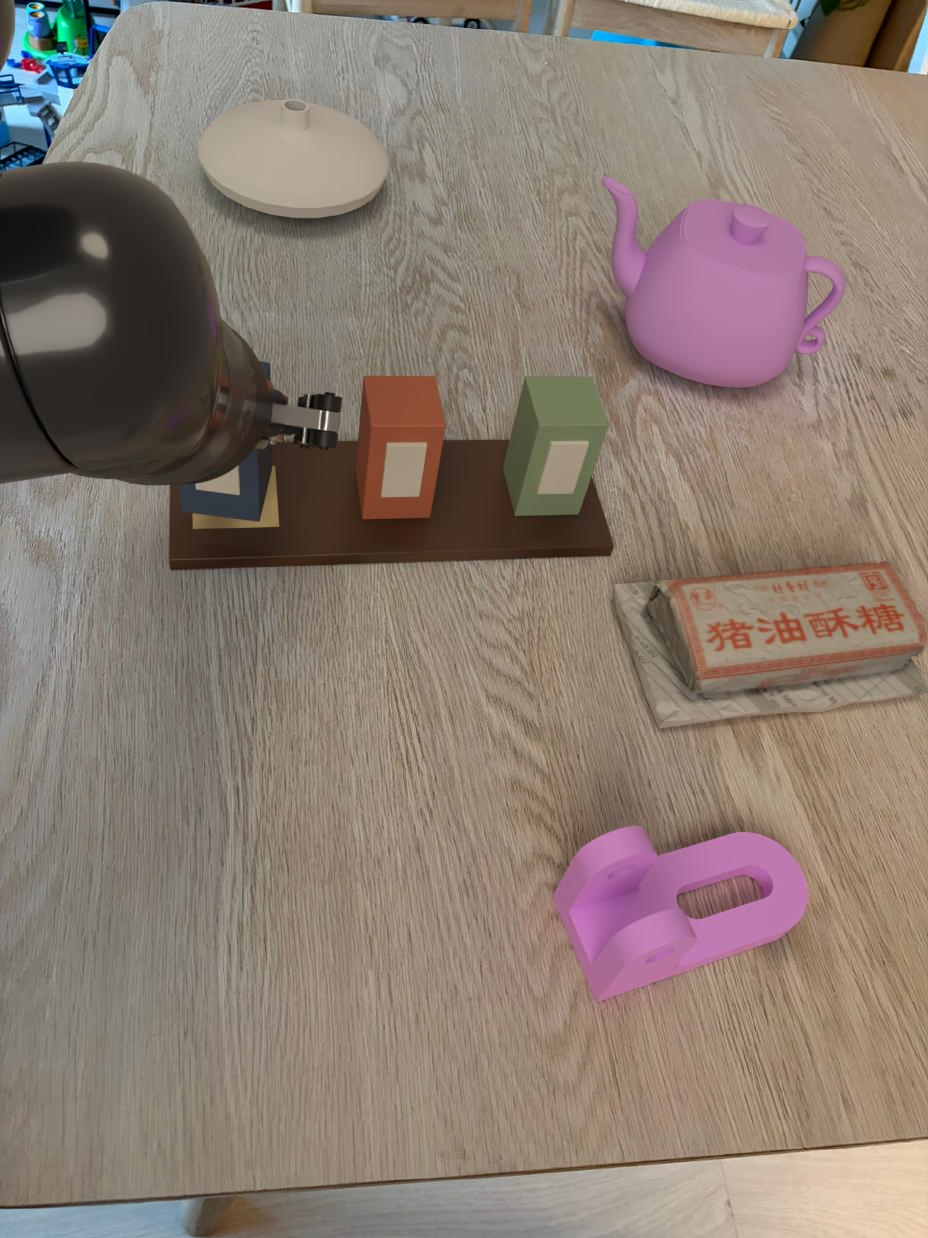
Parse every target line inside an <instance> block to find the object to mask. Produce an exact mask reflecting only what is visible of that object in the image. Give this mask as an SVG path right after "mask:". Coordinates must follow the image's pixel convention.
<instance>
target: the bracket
mask: <svg viewBox="0 0 928 1238" xmlns="http://www.w3.org/2000/svg"><path fill="white" fill-rule="evenodd" d="M739 876H746V877H749V878H751V879H752V880H754V881H755V882H756V883H757V884H758V885H759V886H760V888H761V891H762V896H763V897H762V898H760V899H757V900H755V901H751V902H748V903H745V904H742V905H739V906H736V907H734V908H730V909H727V910H724V911H721V912H718V913H715V914H711V915H709V916H705V917H702V918H693V917H690V916H688V915H687V914H686V912H685V910H684V909H683V908H680V906H679V905H678V899H677V897H678V896H679V895H682V894H686V893H688V892H691V891H695V890H698V889H702V888H704V887H708V886H711V885H714V884H717V883H720V882H723V881H727V880H729V879H733V878H736V877H739ZM551 898H552V900H553V902H554V904H555V907H556V909H557V913H558V914H559V917H560V920H561V921H562V924H563V926H564V929H565V932H566V933H567V936H568V938H569V941H570V944H571V946H572V948H573V951H574V953H575V956H576V958H577V960H578V963H579V966H580V968H581V970H582V972H583V975H584V977H585V980H586V982H587V984H588V987H589V989H590V991H591V994H592V996H593V999H594V1001H595V1003H599V1002H601V1001H605V1000H608V999H610V998H614V997H616V996H620V995H622V994H625V993H627V992H630V991H634V990H637V989H639V988H641V987H645V986H648V985H651V984H654V983H657V982H660V981H662V980H665V979H668V978H671V977H674V976H677V975H679V974H682V973H685V972H688V971H692V970H694V969H697V968H699V967H704V966H706V965H708V964H711V963H714V962H717V961H720V960H723V959H725V958H729V957H731V956H734V955H737V954H740V953H744V952H746V951H750V950H752V949H755V948H758V947H761V946H763V945H767V944H769V943H772V942H775V941H777V940H779V939H780V938H782V937H783V936H784V935H786V934H787V933H788V932H789V931H790V930H791V929H792V928H794V926H796V925H797V924H798V923H799V921H800V920H801V919H802V918H803V916H804V914H805V912H806V909H807V905H808V900H809V899H808V898H809V891H808V885H807V880H806V877H805V875H804V872H803V870H802V868H801V866H800V864H799V863H798V861H797V860H796V859H795V857H794V856H793V855H792V854H791V853H790V851H788V850H787V849H786V848H785V847H784V846H782V844H780V843H778V842H777V841H775V840H774V839H772V838H770V837H768V836H765V835H763V834H760V833H757V832H756V833H755V832H751V831H750V832H749V831H739V832H731V833H728V834H726V835H722V836H719V837H716V838H712V839H709V840H706V841H703V842H699V843H696V844H692V845H689V846H685V847H683V848H678V849H675V850H673V851H669V852H666V853H663V854H659V855H658V854H657V852H656V850H655V847H654V846H653V843H652V842H651V840H650V838H649V835H648V834H647V831H646V829H645V827H643V826H639V825H630V826H624V827H620V828H617V829H615V830H611V831H608V832H607V833H604V834H602V835H600V836H597V837H595V838H594V839H593V840H591V841H589V842H588V843H586V844H584V845H583V846H582V847H581V848H580V849H579V850H578V851H576V852H575V854H574V856H573V858H572V859H571V862H570V863H569V865H568V867H567V869H566V870H565V872H564V874H563V876H562V878H561V880H560V881H559V884H558V885H557V886H556V889H555V890H554V893H553V894H552V896H551Z"/></svg>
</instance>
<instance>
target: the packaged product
mask: <svg viewBox="0 0 928 1238" xmlns="http://www.w3.org/2000/svg"><path fill="white" fill-rule="evenodd" d="M612 590H613V591H612V595H611V596H612V598H611V601H612V604H613V607H614V610H615V612H616V615H617V618H618V621H619V623H620V626H621V629H622V631H623V634H624V637H625V640H626V642H627V646H628V649H629V651H630V654H631V657H632V660H633V664H634V666H635V669H636V672H637V675H638V677H639V680H640V683H641V686H642V689H643V692H644V696H645V698H646V700H647V703H648V706H649V708H650V710H651V713H652V716H653V718H654V720H655V724H656V726H657V728H658V729H665V728H667V729H668V728H674V727H679V726H687V725H694V724H700V723H701V724H702V723H708V722H715V721H720V720H728V719H733V718H744V717H755V716H766V715H777V714H788V713H824V712H827V711H831V710H834V709H837V708H840V707H844V706H847V705H851V704H859V703H868V702H880V701H887V700H893V699H894V700H895V699H900V698H901V699H902V698H908V697H913V696H914V697H915V696H921V695H924V694H928V685H927V683H926V682H925V680H924V678H923V676H922V674H921V672H920V671H919V668H918V666H917V665H916V662H915V661H914V660H912V659H911V658H912V657H919V655H920V654H922V653H923V652H924V651H925V645H926V643H927V640H928V634H927V631H926V625H925V621H926V618H925V616H924V614H923V613H921V612H920V611H919V610H918V608H917V605H916V603H915V601H914V600H913V599H912V597H911V595H910V593H909V589H908V588H907V587H906V584H905V583H904V581H903V579H902V578H901V576H900V574H899V573H898V571H897V570H896V568H895V565H894V564H893V562H892V561H890V560H886V561H880V562H861V563H851V562H850V563H846V564H839V565H821V566H816V567H805V568H789V569H784V570H782V569H779V570H767V571H759V572H758V571H757V572H747V573H746V572H745V573H734V574H723V575H722V574H721V575H714V576H712V575H711V576H705V577H685V578H672V579H661V580H658V579H657V580H649V581H638V582H629V583H628V582H627V583H626V582H625V583H624V582H622V583H615V584H614V585H613V589H612Z"/></svg>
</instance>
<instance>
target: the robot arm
mask: <svg viewBox="0 0 928 1238" xmlns="http://www.w3.org/2000/svg"><path fill="white" fill-rule="evenodd" d="M15 32H16V4H15V0H0V73H1V72H2V71H3V68H4V66H5V64H6V63H7V61H8V59H9V57H10V55H11V50H12V46H13V41H14V36H15ZM259 361H260V359H259V358H258V356H257V354H256V353H255V352H254V350H253V348H252V347H251V346H250V344H249V343H248V341H246V339H244V337H243V336H242V335H241V334H240V333H238V332H237V331H236V330H235V329H234V328H233V327H232V326H230V324H228V323H227V322H225V320H224V319H222V315H221V308H220V302H219V298H218V292H217V288H216V284H215V281H214V277H213V272H212V271H211V267H210V265H209V261H208V258H207V256H206V252H205V251H204V248H203V246H202V244H201V241H200V240H199V238H198V236H197V234H196V231H195V230H194V228H193V225H192V224H191V223H190V221H189V220H188V218H187V217H186V215H185V214H184V212H183V211H182V210H181V208H180V207H179V205H178V203H176V201H174V200H173V198H172V197H171V196H170V195H168V194H167V192H166V191H164V190H163V189H162V188H160V187H159V186H158V185H157V184H156V183H154V182H152V181H151V180H149V179H147V178H145V177H144V176H141V175H139V174H137V173H135V172H133V171H129V170H127V169H124V168H121V167H117V166H114V165H110V164H104V163H98V162H91V161H59V162H58V161H57V162H49V163H41V164H34V165H27V166H20V167H13V168H9V169H7V170H0V485H2V484H8V483H15V482H22V481H23V482H24V481H27V480H28V481H30V480H34V479H41V478H48V477H54V476H60V475H61V476H62V475H67V474H71V475H74V476H78V477H83V478H88V479H100V480H117V481H120V482H124V483H126V484H127V483H128V484H133V485H139V486H170V485H181V484H197V483H203V482H207V481H210V480H213V479H216V478H218V477H221V476H223V475H225V474H227V473H228V472H230V471H231V470H233V469H234V468H236V467H237V466H238V465H240V464H241V463H242V462H243V461H244V460H245V459H246V458H247V457H248V456H249V454H250V453H251V452H252V451H253V449H254V448H255V449H263V450H264V449H265V448H266V447H267V445H268V444H274V445H276V444H277V443H276V442H280V443H284V441H285V436H290V437H291V436H292V435H293V440H292V441H293V444H296V445H300V448H304V449H309V446H310V447H319V448H318V449H321V450H329V448H337V441H339V431H340V424H341V423H340V421H341V414H342V405H343V397H342V396H339V395H336V393H335V392H333V391H332V392H331V391H324V393H314V394H313V393H308V392H307V393H306V392H305V393H303V395H302V396H298V398H297V405H296V406H295V405H289V396H288V395H285V394H284V393H283V392H282V391H281V390H279V389H276V388H275V387H274V383H273V382H272V380H271V381H268V380H266V377H265V374H264V371H263V369H262V366H261V364H260V362H259Z"/></svg>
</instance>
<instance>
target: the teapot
mask: <svg viewBox="0 0 928 1238" xmlns="http://www.w3.org/2000/svg"><path fill="white" fill-rule="evenodd" d="M600 179H601V183H602V184H603V186H604V187H605V188H606V190H607V191H608V193H609V195H610V196H611V197H612V199H613V202H614V205H615V211H616V221H615V222H616V223H615V229H614V235H613V240H612V245H611V253H610V267H611V272H612V277H613V278H614V281H615V283H616V285H617V286H618V288H619V289H620V290H621V291H622V293H623V294H624V295H625V303H624V305H625V307H624V321H625V326H626V330H627V333H628V336H629V338H630V341H631V343H632V345H633V347H634V349H635V350H636V352H638V353H639V354H640V356H642V357H643V358H644V359H645V360H647V361H648V362H650V363H652V364H653V365H655V366H657V367H659V368H661V369H663V370H664V371H667V372H669V373H672V374H674V375H676V376H679V377H681V378H683V379H687V380H691V381H693V382H697V383H700V384H706V385H710V386H717V387H724V388H735V389H736V388H737V389H743V388H744V389H745V388H746V389H748V388H755V387H757V386H761V385H762V384H765V383H766V382H768V381H771V380H773V379H774V378H776V377H778V376H779V375H780V374H782V373H783V372H784V371H785V370H786V369H787V368H788V366H789V365H790V364H791V362H792V359H793V357H794V355H795V352H796V353H798V354H800V355H813V354H816V353H817V352H819V351H820V350H821V349H822V348H823V346H824V345H825V342H826V338H827V337H826V332H825V330H824V328H823V327H821V326H819V325H820V323H822V321H824V320H825V319H826V318H827V317H828V316H829V315H830V314H831V313H832V312H833V311H834V310H835V309H836V308H837V306H838V305H839V304H840V302H841V301H842V299H843V297H844V294H845V291H846V277H845V275H844V273H843V271H842V269H841V268H840V267H839V265H837V264H836V263H835V262H833V261H832V260H830V259H829V258H826V257H823V256H818V255H809V256H808V255H807V247H806V246H807V245H806V240H805V236H804V235H803V233H802V232H801V230H800V229H799V228H798V227H797V226H796V225H795V224H794V223H792V222H791V221H789V220H787V219H785V218H782V217H781V216H779V215H776V214H775V213H771V212H769V211H766V210H765V209H763V208H762V207H760V206H757V205H754V204H750V203H739V202H734V201H727V200H722V199H721V200H720V199H699V200H696V201H695V200H694V201H693V202H690V203H689V204H688V205H687V206H686V207H685V208H683V209H682V210H680V212H679V213H677V215H676V216H675V217H674V218H673V219H672V220H671V221H670V222H669V223H668V224H667V225H666V226H665V227H664V228H663V229H662V231H660V233H659V234H658V235H657V236H656V237H655V239H654V241H653V242H652V243H651V245H650V246H649V248H648V249H647V250H646V252H645V251H644V249H643V248H642V247H641V245H640V244H639V241H638V239H637V226H638V219H639V207H638V202H637V200H636V198H635V195H634V193H632V191H631V190H630V189H629V188H627V187H626V186H625V185H624V184H623V183H620V182H618V181H616V180H615V179H612V178H610V177H607V176H602V177H601V178H600ZM809 273H813V274H818V275H820V276H823V277H825V278H827V279H828V280H829V281H830V282H831V283H832V289H831V290H830V292H829V293H828V295H827V296H826V297H825V298H824V299H823V301H822V302H820V303H819V305H817V307H815V308H814V309H813V310H812V311H811V312H810V313H808V315H807V308H808V302H809V299H808V298H809ZM807 336H813V337H814V339H806V337H807Z"/></svg>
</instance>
